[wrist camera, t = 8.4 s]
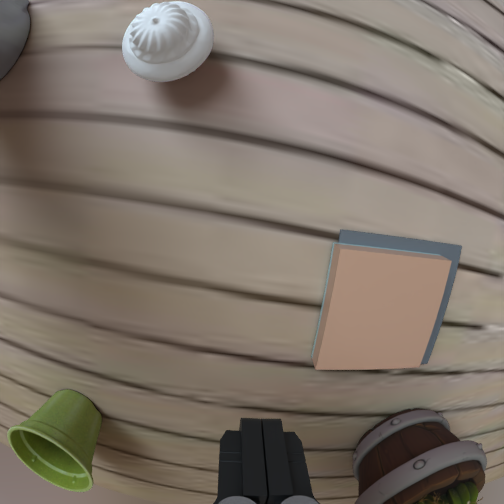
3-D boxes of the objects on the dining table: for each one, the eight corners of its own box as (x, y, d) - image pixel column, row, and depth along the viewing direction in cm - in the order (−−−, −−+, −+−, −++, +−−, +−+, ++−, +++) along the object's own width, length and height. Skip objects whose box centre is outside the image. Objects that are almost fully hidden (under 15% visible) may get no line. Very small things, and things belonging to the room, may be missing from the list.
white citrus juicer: (231, 33, 20) (226, -12, 13) (199, 103, 21) (180, 77, 14) (158, 16, 19) (132, -27, 12) (126, 82, 21) (85, 55, 14)
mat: (340, 229, 24) (341, 230, 24) (460, 245, 24) (462, 246, 24) (313, 364, 27) (314, 366, 27) (426, 362, 27) (427, 363, 27)
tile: (340, 248, 22) (451, 260, 22) (333, 242, 24) (439, 254, 24) (315, 369, 24) (419, 367, 25) (311, 356, 26) (410, 356, 27)
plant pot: (122, 399, 28) (93, 461, 19) (112, 449, 30) (91, 503, 21) (43, 361, 27) (1, 410, 18) (44, 416, 29) (14, 462, 20)
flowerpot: (465, 414, 30) (538, 520, 11) (375, 484, 33) (414, 597, 13) (418, 367, 27) (522, 516, 8) (308, 454, 30) (337, 611, 11)
